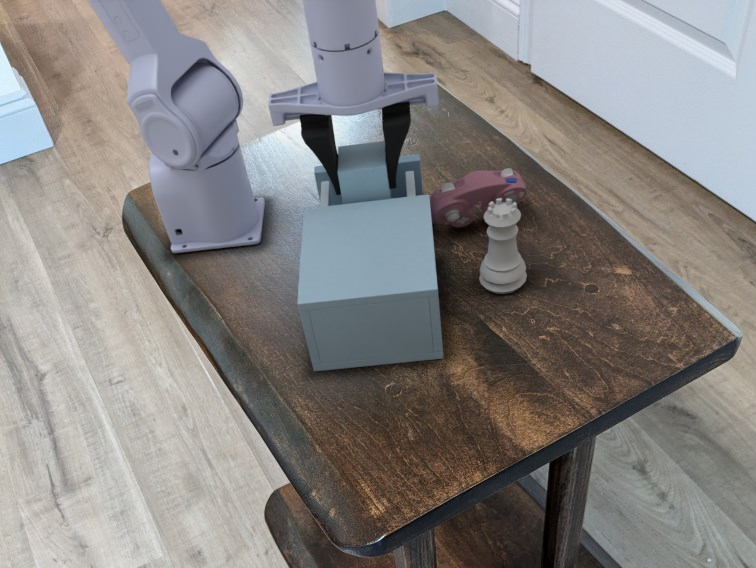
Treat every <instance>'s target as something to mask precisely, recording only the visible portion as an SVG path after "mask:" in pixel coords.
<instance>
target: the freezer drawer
mask: <svg viewBox="0 0 756 568" xmlns="http://www.w3.org/2000/svg"><path fill="white" fill-rule="evenodd" d="M313 174H314V179H315V183H316V184H315V185H316V190H317V194H318V200H319V207H324V206H333V205H341V204H343V201H342V195H336V193H335V190H334V187H333V184H332V182H331V180H330V178H329V176H328V174H327V172H326V170H325V169H324V167H323V165H316V166H314V171H313ZM419 195H424V189H423V176H422V167H421V156H420V153H417V154H408V155H400V157H399V162H398V167H397V174H396V188H394V189H391V199H393V198H402V197H410V196H419Z"/></svg>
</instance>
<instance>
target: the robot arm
mask: <svg viewBox="0 0 756 568" xmlns="http://www.w3.org/2000/svg"><path fill="white" fill-rule="evenodd" d="M86 1H87V2H88V3H89V5H90V8H91V9H92V10H93V12H94V13H95V15H96V17H97V18H98V19H99V21H100V23H101V24H102V26H103V27H104V29H105V30H106V32H107V33H108V35H109V36H110V38H111V39H112V40H113V42H114V44H115V46H116V47H117V48H118V51H120V54H121V55H122V56H123V59H125V61H126V63H127V64H128V66H129V72H128V81H127V82H128V83H127V90H126V91H127V92H126V104H127V106H128V108H129V109H130V111H131V112H132V113H133V115H134V117H135V119H136V122H137V124H138V128H139V131H140V134H141V135H140V136H141V137H142V140H143V141H144V143H145V145H146V147H147V148H148V149H149V151H150V152H151V154H150V156H149V160H148V175H149V181H150V187H151V191H152V194H153V198H154V201H155V203H156V206H157V209H158V211H159V215H160V217H161V220H162V223H163V226H164V228H165V231H166V234H167V237H168V240H169V241H170V244H171V245H170V251H171V253H173V254H181V253H190V252H198V251H199V252H200V251H207V250H214V249H215V250H217V249H223V248H224V249H225V248H231V247H232V248H233V247H242V246H251V245H258V244H259V243H260V242H261V239H262V231H263V223H264V214H265V207H266V206H265V204H266V200H265V198H264V197H262V196H260V197H254V193H253V190H252V185H251V182H250V179H249V174H248V171H247V167H246V163H245V159H244V156H243V152H242V148H241V144H240V141H239V137H238V133H239V132H240V129H239V125H238V121H237V119H238V118H239V117H240V115H241V114H242V111H243V107H244V96H243V92H242V89H241V86H240V84H239V83H238V80H237V79H236V77H235V76H234V75H233V74H232V72H231V71H230V70H229V69H228V68H226V67H225V66H224V65H223V64H222V63H221V62H220V61H219V60H218V59H217V58H216V57H215V55H214V54H213V52H212V51H211V49H210V47H209V46H208V44H207V42H205V41H203V40H201V39H199V38H196V37H193V36H190V35H186V34H183V33H181V32H180V31H179V29H178V27H177V26H176V24H175V22H174V20H173V19H172V18H171V17H172V16H171V15H170V14H169V12H168V10H167V8H166V7H165V6H164V4H163V2H162V1H161V0H86ZM302 6H303V11H304V17H305V22H306V27H307V33H308V39H309V45H310V51H311V57H312V62H313V67H314V73H315V78H316V81H314V82H312V83H308V84H305V85H301V86H297V87H295V88H292V89H288V90H284V91H280V92H274V93H269V96H268V105H267V106H268V110H269V115H270V119H271V124H272V126H273V127H278V126H284V125H285V124H286V122H288V121H294V120H295V121H297V120H299V123H300V135H301V138H302V140H303V142H304V144H305V145H306V146H307V147H308V148H309V149H310V151H311V152H312V153H313V154H314V156H315V157H316V158H317V159H318V161H319V163H320V164H321V166H323V167H324V169H325V170H326V172H327V174H328V176H329V178H330V180H331V182H332V184H333V187H334V190H335V193H336V195H341V189H340V184H339V178H338V148H337V144H336V138H335V131H334V124H333V117H332V116H336V117H337V116H338V117H339V116H341V117H351V116H357V115H362V114H366V113H370V112H372V111H373V112H374V111H376V110H381V127H382V133H383V139H384V140H383V141H385V147H386V155H387V172H388V182H389V189H394V188H396V174H397V167H398V162H399V157H400V156H401V154H402V150H403V146H404V144H405V141H406V138H407V135H408V134H409V132H410V128H411V122H412V118H411V117H412V116H411V106H414V105H415V106H416V105H422V104H425V106H426V107H427V108H428V107H429V108H430V107H437V106H439V105H440V102H439V89H438V76H437V73H436V72H428V73H408V72H407V73H406V72H387V71H384V63H383V53H382V45H381V36H380V27H379V18H378V10H377V2H376V0H302Z"/></svg>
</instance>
